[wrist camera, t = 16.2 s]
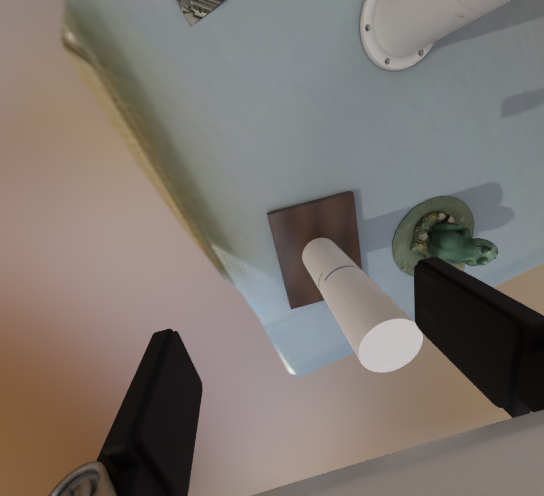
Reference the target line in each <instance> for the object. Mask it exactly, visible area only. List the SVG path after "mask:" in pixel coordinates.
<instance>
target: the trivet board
mask: <svg viewBox="0 0 544 496" xmlns="http://www.w3.org/2000/svg"><path fill="white" fill-rule="evenodd" d="M267 215H268V219H269V223H270V227H271V231H272V235H273V240H274V244H275V248H276V252H277V256H278V260H279V264H280V268H281V272H282V276H283V280H284V284H285V288H286V292H287V296H288V300H289V304H290V307H291V309H294V308H298V307H301V306H305V305H308V304H312V303H316V302H319V301H323V300H325V299H324V298H323V296H322V294H321V292H320V291H319V289H318V287H317V286H316V284H315V282H314V280H313V279H312V277H311V275H310V273H309V272H308V270H307V268H306V266H305V265H304V263H303V259H302V254H303V250H304V248H305V247H306V245H307V244H308V243H309V242H311V241H312V240H314V239H317V238H327V239H330V240H331V241H333V242H334V243H335V244H336V245H337V246H338V247H339V248H340V249H341V250H342V251H343V252H344V253H345V254H346V255H347V256H348V257H349V258H350V259H351V260H352V261H353V262H354V263H355V264H356V265H357V266H358V267H359V268H360V269H361V259H360V250H359V241H358V232H357V223H356V213H355V204H354V195H353V192H350V191H349V192H345V193H341V194H338V195H334V196H330V197H326V198H322V199H319V200H315V201H311V202H307V203H303V204H300V205H296V206H292V207H288V208H284V209H281V210H277V211H273V212H269V213H267ZM361 270H362V269H361Z"/></svg>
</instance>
